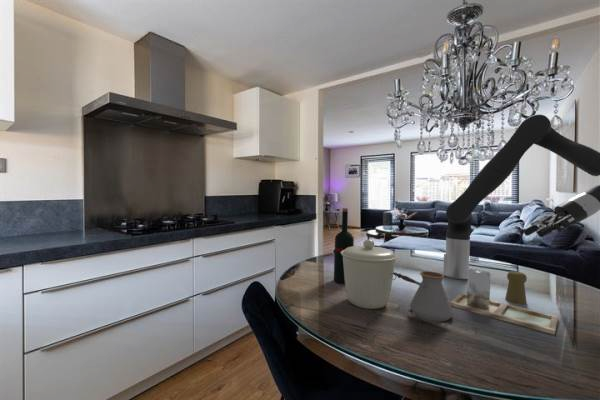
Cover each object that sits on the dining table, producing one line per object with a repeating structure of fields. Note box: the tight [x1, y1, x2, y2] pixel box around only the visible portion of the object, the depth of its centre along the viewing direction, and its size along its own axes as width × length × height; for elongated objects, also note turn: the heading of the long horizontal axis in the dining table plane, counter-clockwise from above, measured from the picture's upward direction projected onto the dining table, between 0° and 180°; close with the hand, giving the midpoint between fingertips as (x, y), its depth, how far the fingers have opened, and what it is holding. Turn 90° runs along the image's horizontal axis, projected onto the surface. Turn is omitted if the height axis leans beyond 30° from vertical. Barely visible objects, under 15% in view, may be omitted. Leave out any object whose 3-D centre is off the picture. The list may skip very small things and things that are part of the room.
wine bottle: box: [333, 207, 355, 285], centre depth 113 cm, size 8×10×30 cm
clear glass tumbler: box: [466, 268, 492, 310], centre depth 88 cm, size 6×6×11 cm
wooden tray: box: [449, 292, 559, 336], centre depth 84 cm, size 25×12×2 cm, turn 44°
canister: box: [341, 238, 398, 310], centre depth 92 cm, size 18×18×21 cm
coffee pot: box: [390, 270, 454, 325], centre depth 80 cm, size 21×12×15 cm, turn 115°
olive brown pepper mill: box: [505, 270, 528, 305], centre depth 93 cm, size 6×6×11 cm
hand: (531, 234), depth 97 cm, fingers open, 8 cm apart
